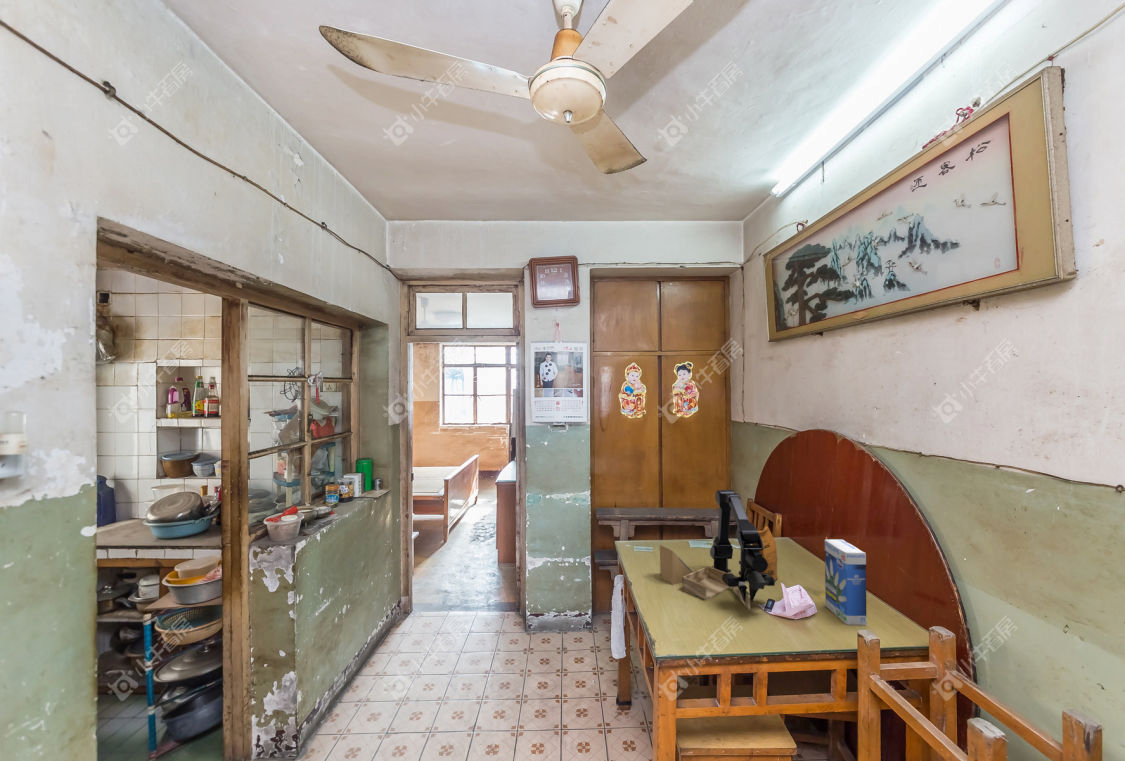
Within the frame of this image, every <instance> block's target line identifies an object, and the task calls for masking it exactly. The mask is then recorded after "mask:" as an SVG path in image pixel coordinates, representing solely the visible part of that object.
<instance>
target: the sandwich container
mask: <svg viewBox="0 0 1125 761" xmlns="http://www.w3.org/2000/svg"><path fill="white" fill-rule="evenodd" d="M659 562H660V563H659V564H660V565H659V568H660V570H659V571H660V578H661V579H663V581H665V582H667V583H669V584H670V585H672V586H674V585H679V584H682V577H683V576H686V575H688V574H690V573H693V572H694V571H693V570H692V569H691V568H690V567H689V566H688V565H687V564H686V563H685V562H684V561H683V560H682V559H681V558H680V557H679V556H678V554H677V553H676V552H674V550H673V549H671V548H670V547H667V546H665V545H664V544H663V545H662V544H659Z"/></svg>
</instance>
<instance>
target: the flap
mask: <svg viewBox="0 0 1125 761" xmlns="http://www.w3.org/2000/svg"><path fill="white" fill-rule="evenodd" d="M731 590H732V591H733V592H734V593H735V595H736V596H737V597H738V598H739V599H740V601H741V602H742V604H743V605H744V606H745V608H746V609H747V610H751V601H750V594H749V591H747V590H746V600H745V602H744V601H743V598H742V596H741V593H740V590H739V588H738V586H737V587H731Z"/></svg>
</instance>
